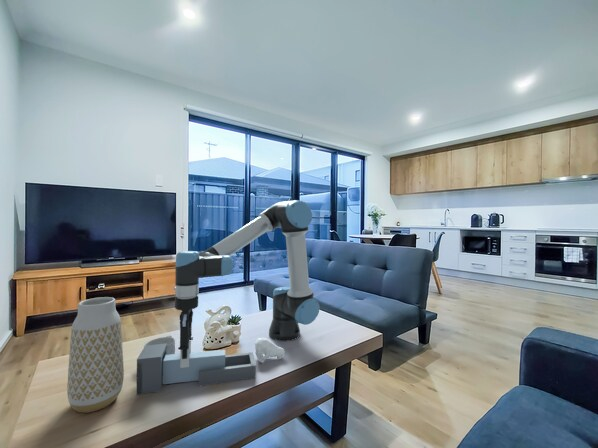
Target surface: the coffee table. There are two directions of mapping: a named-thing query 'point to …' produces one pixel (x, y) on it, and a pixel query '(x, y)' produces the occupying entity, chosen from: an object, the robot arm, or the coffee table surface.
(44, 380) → the coffee table surface
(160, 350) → the endcap
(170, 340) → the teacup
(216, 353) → the blue-grey rectangular block
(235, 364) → the endcap
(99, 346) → the vase
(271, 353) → the white irregular piece
